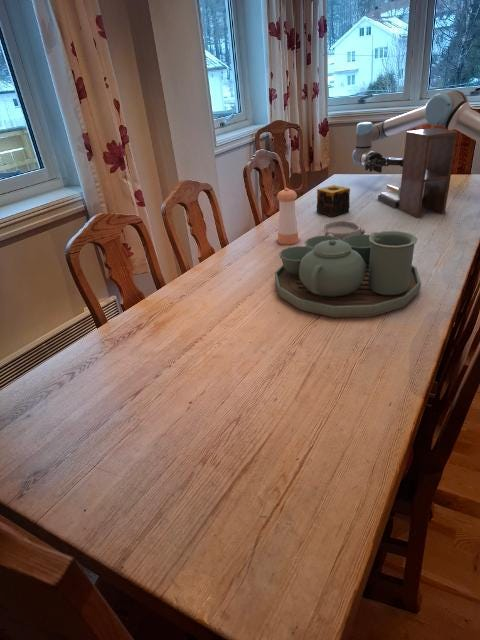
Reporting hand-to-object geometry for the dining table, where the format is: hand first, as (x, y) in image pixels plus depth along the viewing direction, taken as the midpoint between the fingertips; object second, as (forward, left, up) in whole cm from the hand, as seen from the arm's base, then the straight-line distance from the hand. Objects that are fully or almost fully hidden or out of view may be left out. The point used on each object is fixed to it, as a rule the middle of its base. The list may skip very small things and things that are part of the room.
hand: (395, 167), depth 188 cm
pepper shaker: (-33, +60, -14) cm, 70 cm away
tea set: (-74, +57, -14) cm, 94 cm away
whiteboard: (-7, 0, -13) cm, 15 cm away
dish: (-40, +42, -14) cm, 59 cm away
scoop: (-5, 0, -10) cm, 12 cm away
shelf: (-23, 0, -13) cm, 26 cm away
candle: (-8, +32, -14) cm, 36 cm away
